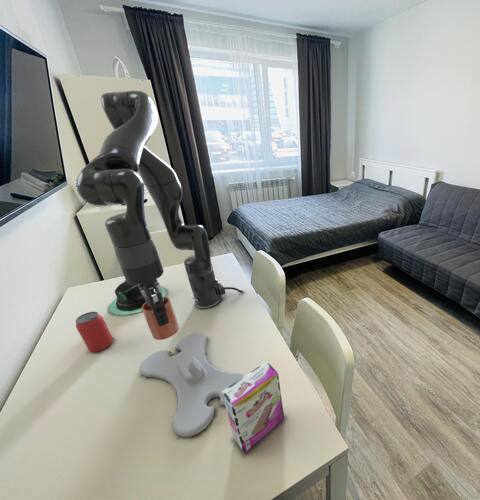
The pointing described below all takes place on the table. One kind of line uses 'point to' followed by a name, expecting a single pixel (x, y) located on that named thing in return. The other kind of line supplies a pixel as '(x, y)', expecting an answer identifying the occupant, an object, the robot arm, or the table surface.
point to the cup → (155, 329)
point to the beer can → (94, 331)
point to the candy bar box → (254, 405)
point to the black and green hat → (129, 299)
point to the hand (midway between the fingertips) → (161, 317)
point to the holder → (190, 382)
